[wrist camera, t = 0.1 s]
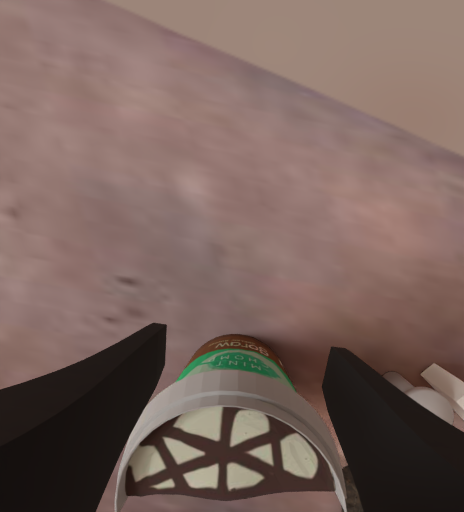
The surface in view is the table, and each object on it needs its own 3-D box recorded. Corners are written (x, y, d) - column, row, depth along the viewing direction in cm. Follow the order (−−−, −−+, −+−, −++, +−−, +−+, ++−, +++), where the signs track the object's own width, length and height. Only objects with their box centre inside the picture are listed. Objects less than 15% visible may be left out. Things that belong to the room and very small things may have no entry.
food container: (300, 316, 21) (352, 387, 11) (305, 384, 21) (359, 513, 11) (161, 325, 21) (89, 399, 12) (168, 391, 22) (104, 517, 12)
